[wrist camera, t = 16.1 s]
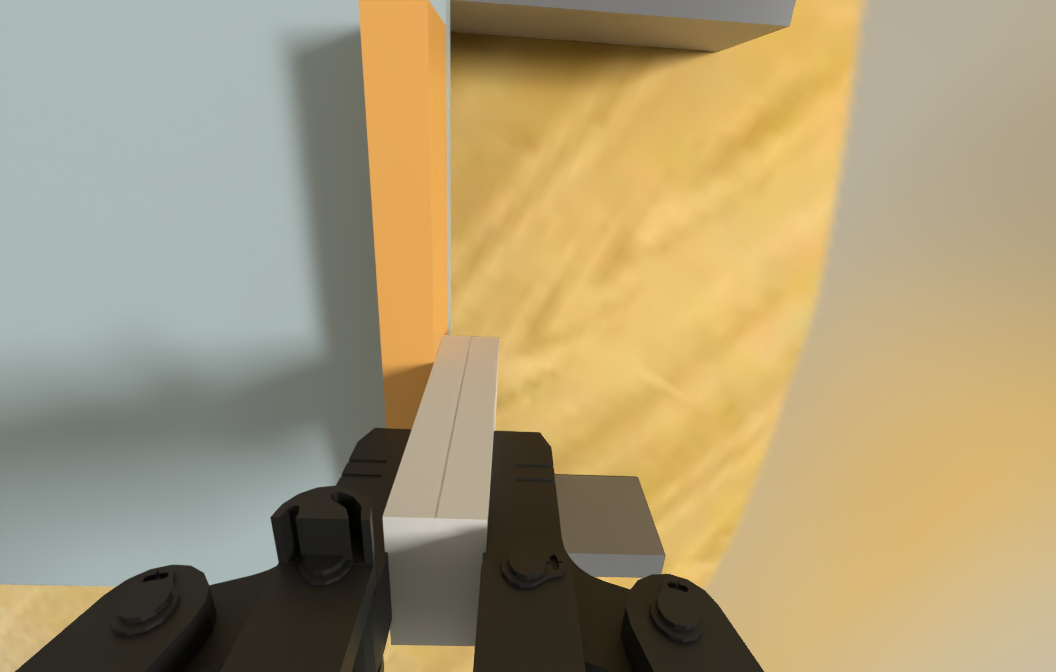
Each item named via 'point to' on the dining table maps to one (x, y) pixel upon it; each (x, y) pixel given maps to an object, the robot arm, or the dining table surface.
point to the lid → (209, 268)
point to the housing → (639, 20)
